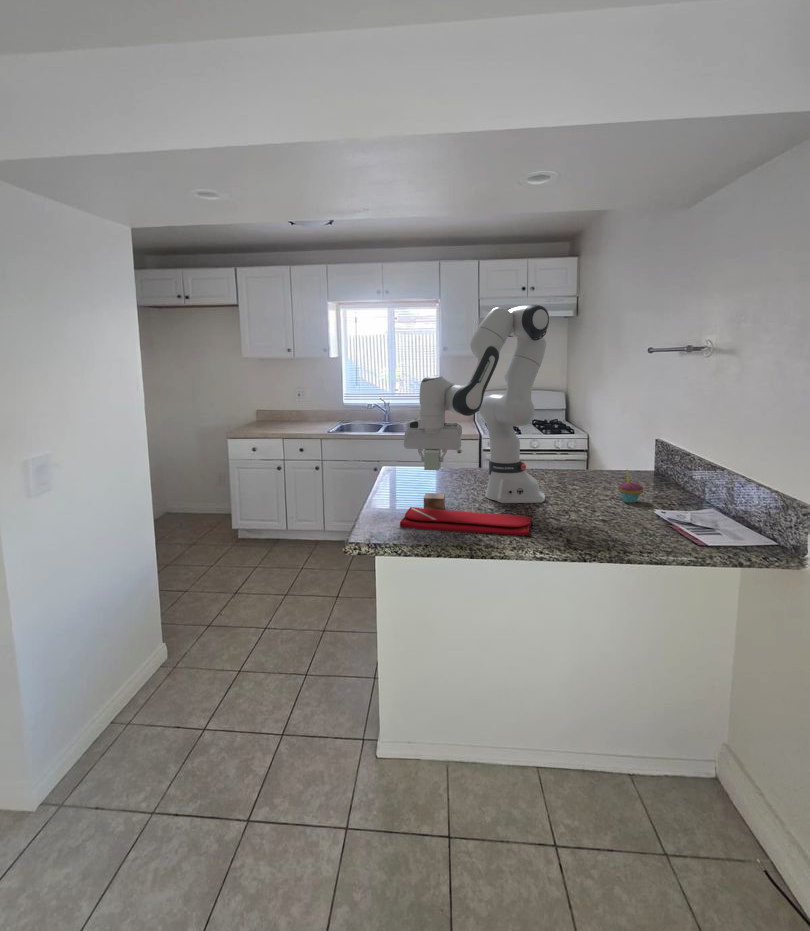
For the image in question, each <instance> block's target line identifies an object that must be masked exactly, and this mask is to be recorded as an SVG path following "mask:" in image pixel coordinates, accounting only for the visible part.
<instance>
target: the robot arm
mask: <svg viewBox="0 0 810 931" xmlns="http://www.w3.org/2000/svg"><path fill="white" fill-rule="evenodd" d="M549 323H550V315H549V312H548V310H547V308H546V307H544V306H543V305H539V304H525V305H518V306H516V307H515V306H514V307H509V308H504V307H502V306H501V307H500V306H499V307H494V308H492V309H491V310H490V311H489V312H488V313H487V315H486V316H485V317H484V318H483V320H482V321H481V322H480V324H479V325H478V327H477V328H476V330H475V332H474V333H473V335H472V338H471V340H470V350H471V352H472V355H474V356H475V357H476V359H477V364H476V366H475V369H474V371H473V373H472V375H471V377H470V379H469V381H468V382H467V383H465V384H464V385H462V384H456V383H454V382H451V381H449V380H447V379H445V378H444V377H443V375H438V374H437V375H429V376H427V377H424V378H422V380H421V382H420V385H419V406H420V411H419V417H418V418H415V419H412V420H410V421H408V422H406V428H407V429H405V431H404V436H403V446H404V448H405V449H406V450H407V449H408V450H411V449H412V450H415V449H416V450H417V452H418V454H419V456H420V461H421V462H424V450H425V449H441V452H442V455H441V456H440V457H439V462H441V463H444V461H445V456H446V454H447V453H448V451H449V450H451V451H459V450H460V449H461V448H462V438H461V437H462V436H461V435H462V434H463V428H462V426H461V425H460V424H458V422H457V423H456V422H454V423H452V422H446V412H447V411H448V412H452V413H457V414H460V415H463V416H466V417H470V416H474V415H475V414H477V413H478V412H479V414H480V416H481V417H482V419H483V420H484V422H485V425H486V429H487V433H488V436H489V448H490V449H489V454H490V455H489V458H490V459H489V460H488V466H487V467H488V483H487V488H486V492H485V495H484V496H485V498H486V499H489V500H492V501H496V502H499V503H501V504H521V503H522V504H525V503H527V504H529V503H530V504H533V503H534V504H536V503H537V504H538V503H543V502H544V501H545V500H546V494H545V493H544V492H542V491H540V486H539V482H538V481H537V479H536V478H535V477H533V476H532V475H531V474H530V473H528V472H527V471H525V470H526V468H527V464H526V463H525V462H524V461H521V460H520V456H521V451H520V450H521V442H520V438H519V437H518V435H517V434H516V431H515V429H514V427H521V426H522V427H523V426H527V425H529V424H530V423H531V422H532V421H533V419H534V418H535V413H536V411H535V410H536V409H535V405H534V404H533V401H532V391H533V386H534V384H535V381H536V378H537V374H538V372H539V370H540V368H541V365H542V363H543V360H544V356H545V353H546V348H547V341H546V339H545V338H544V336H545V335H546V334H547V332H548V328H549ZM508 338H516V341H517V342H516V347H515V348H514V349H515V350H514V352H513V353H512V356H511V358H510V360H509V363H508V365H507V368H506V370H505V373H504V380H505V382H506V391H505V393H504V394H502V393H501V394H500V393H493V394H490V395H487V396H485V394H486V390H487V388H488V385H489V384H490V381H491V378H492V376H493V375H494V372H495V370H496V368H497V365H498V362H499V360H500V352H501V350H502V348H503V346H504V344H505V342H506V341H507V340H508Z"/></svg>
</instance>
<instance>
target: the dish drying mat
mask: <svg viewBox="0 0 810 931" xmlns="http://www.w3.org/2000/svg"><path fill="white" fill-rule="evenodd" d="M530 523H532V517H531V516H524V515H519V514H518V515H517V514H505V513H487V512H483V513H482V512H471V511H464V510H463V511H462V510H461V511H459V510H448V509H444V510H438V509H425V508H424V507H423V508H422V507H415V506H413V507H412V506H410V507H409V508H408V510H407V511H406V512H405V513H404V517H403V518H402V519H401V520H400V522H399V527H400V528H401V527H405V528H404V529H413V528H415V529H416V530H417V529H418V530H426V531H427V530H428V531H442V532H443V531H444V532H457V533H459V532H460V533H471V532H474V534H486V533H492V534H491V535H503V534H508V535H509V534H510V535H509V536H521V535H531V534H530V532H529V527H530V528H531V524H530ZM508 535H507V536H508Z"/></svg>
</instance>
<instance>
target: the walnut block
mask: <svg viewBox="0 0 810 931" xmlns="http://www.w3.org/2000/svg"><path fill="white" fill-rule="evenodd" d="M445 494H446V493H435V492H434V493H433V492H432V493H429V492H426V493H424V496H423V508H425V509H438V510H445V507H446V506H445V504H446V501H445V500H446V497H445Z"/></svg>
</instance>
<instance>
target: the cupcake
mask: <svg viewBox="0 0 810 931" xmlns="http://www.w3.org/2000/svg"><path fill="white" fill-rule="evenodd" d="M618 492H619V493H620V496H621V499H622V502H624V503H630V504H631V503H632V504H633V503H637V502H638V499H639V497H640V495H642V494H643V492H644V487H643V486H642V485H641V484H640V483H638V482H634V481H630V477H629V470H626V482H623V483H621V484H620V485H619V486H618Z"/></svg>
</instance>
